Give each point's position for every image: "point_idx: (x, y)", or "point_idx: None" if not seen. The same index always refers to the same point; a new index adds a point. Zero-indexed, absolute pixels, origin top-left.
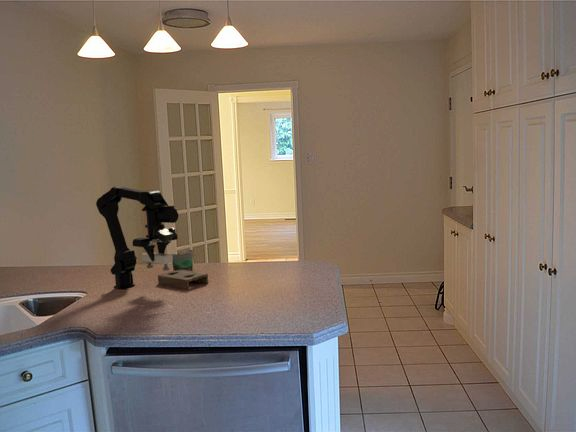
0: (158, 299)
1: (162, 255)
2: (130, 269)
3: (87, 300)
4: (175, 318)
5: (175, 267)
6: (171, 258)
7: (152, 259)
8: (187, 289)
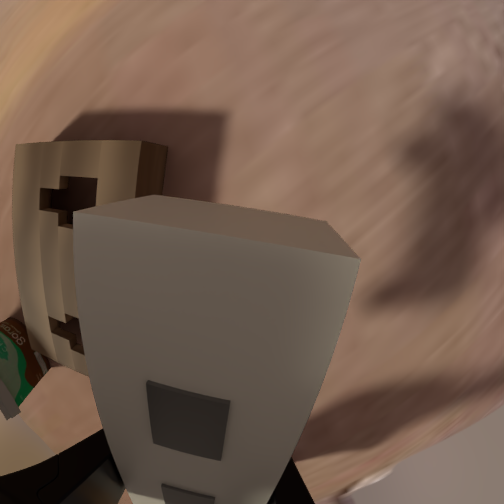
0: (392, 181)
1: (230, 406)
2: None
3: (430, 436)
4: (498, 3)
5: (30, 375)
6: (144, 205)
7: (291, 463)
8: (167, 146)
